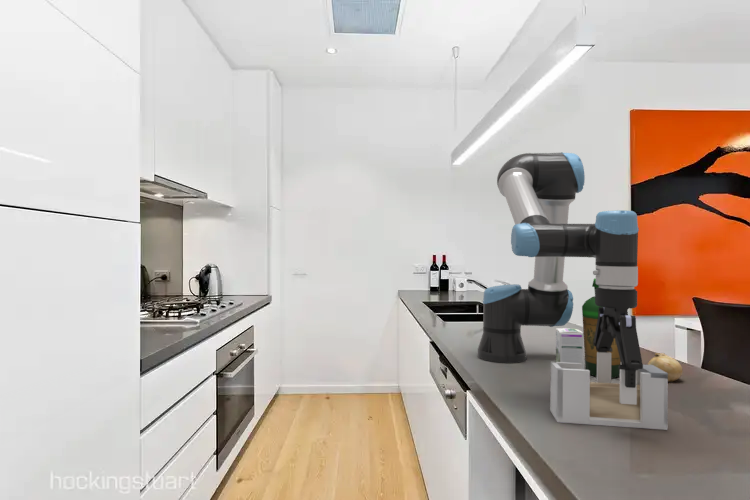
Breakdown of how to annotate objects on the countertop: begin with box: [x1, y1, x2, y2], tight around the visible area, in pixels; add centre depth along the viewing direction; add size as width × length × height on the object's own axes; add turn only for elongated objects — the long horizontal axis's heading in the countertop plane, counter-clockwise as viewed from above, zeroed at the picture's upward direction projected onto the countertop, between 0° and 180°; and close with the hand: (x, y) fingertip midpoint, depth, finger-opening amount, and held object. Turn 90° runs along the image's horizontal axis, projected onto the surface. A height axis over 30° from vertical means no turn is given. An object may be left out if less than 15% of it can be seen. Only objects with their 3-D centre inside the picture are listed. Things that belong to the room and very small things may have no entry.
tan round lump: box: [647, 352, 683, 383], centre depth 121 cm, size 8×8×7 cm
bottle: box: [581, 278, 622, 379], centre depth 125 cm, size 11×11×28 cm
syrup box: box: [555, 327, 585, 370], centre depth 113 cm, size 6×6×14 cm
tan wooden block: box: [590, 381, 640, 420], centre depth 91 cm, size 4×14×6 cm, turn 80°
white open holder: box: [549, 361, 669, 431], centre depth 91 cm, size 7×20×11 cm, turn 80°
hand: (615, 392), depth 91 cm, fingers open, 13 cm apart
